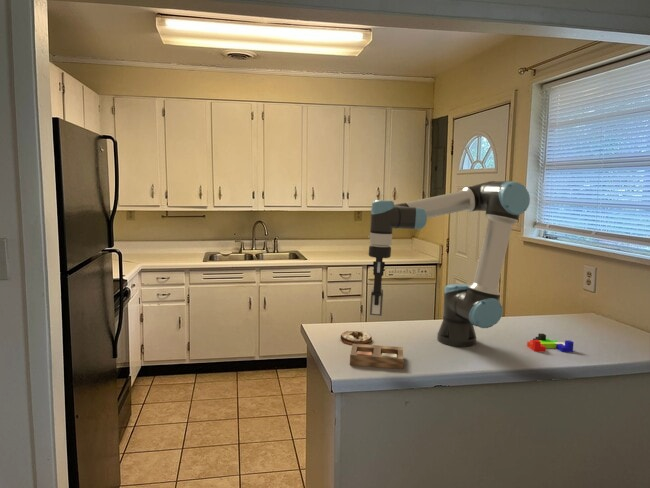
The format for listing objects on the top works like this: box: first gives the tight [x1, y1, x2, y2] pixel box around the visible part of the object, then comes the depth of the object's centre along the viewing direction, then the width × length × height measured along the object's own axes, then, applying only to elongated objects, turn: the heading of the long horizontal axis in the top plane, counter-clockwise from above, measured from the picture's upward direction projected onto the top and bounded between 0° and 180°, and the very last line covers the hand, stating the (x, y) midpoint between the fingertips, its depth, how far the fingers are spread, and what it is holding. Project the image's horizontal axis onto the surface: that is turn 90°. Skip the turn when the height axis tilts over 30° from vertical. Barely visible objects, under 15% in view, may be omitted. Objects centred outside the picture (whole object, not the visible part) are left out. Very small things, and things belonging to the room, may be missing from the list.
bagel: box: [339, 330, 373, 346], centre depth 193 cm, size 15×15×4 cm
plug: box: [369, 284, 384, 316], centre depth 169 cm, size 4×4×10 cm
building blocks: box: [526, 333, 574, 353], centre depth 192 cm, size 15×13×4 cm
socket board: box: [349, 344, 404, 370], centre depth 171 cm, size 18×12×4 cm, turn 82°
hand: (375, 311), depth 169 cm, fingers closed on plug, 4 cm apart
